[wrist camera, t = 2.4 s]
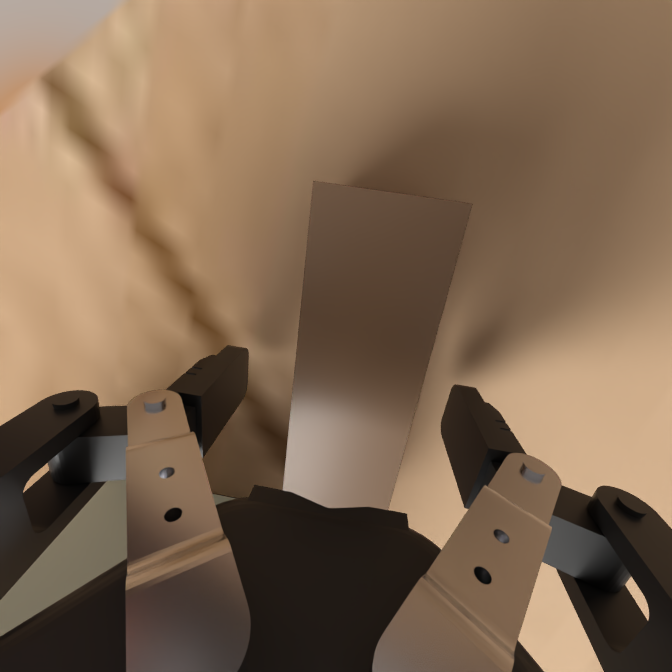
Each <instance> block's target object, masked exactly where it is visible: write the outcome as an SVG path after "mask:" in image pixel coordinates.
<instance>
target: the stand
mask: <svg viewBox="0 0 672 672" xmlns="http://www.w3.org/2000/svg"><path fill="white" fill-rule="evenodd" d="M212 495H213V498H214V502H215V505H217V504H219V503H222V502H225V501H229V500H233V499H236V498H231V497H226V496H221V495H216V494H212ZM126 558H127V512H126V480H115V481H106V483H105V484H104V485H103V486H102V487H101V488H100V489H99V490H98V492H97V493H96V494H95V495H94V496H93V497H92V498H91V499H90V501H89V502H88V503H87V504H86V505H85V506H84V507H83V508H82V509H81V511H80V512H79V513H78V514H77V515H76V516H75V517H74V518H73V520H72V521H71V522H70V523H69V524H68V525H67V526H66V527H65V529H64V530H63V531H62V532H61V533H60V534H59V535H58V536H57V537H56V539H55V540H54V541H53V542H52V543H51V544H50V545H49V546H48V548H47V549H46V550H45V551H44V552H43V553H42V554H41V555H40V557H39V558H38V559H37V560H36V561H35V562H34V563H33V564H32V565H31V567H30V568H29V569H28V570H27V571H26V572H25V573H24V574H23V576H22V577H21V578H20V579H19V580H18V581H17V582H16V583H15V585H14V586H13V587H12V588H11V589H10V590H9V591H8V592H7V593H6V595H5V596H4V597H3V598H2V599H1V600H0V636H2V635H4V634H5V633H7V632H8V631H10V630H12V629H13V628H15V627H16V626H18V625H20V624H21V623H23V622H25V621H26V620H28V619H29V618H31V617H33V616H34V615H36V614H37V613H39V612H41V611H42V610H44V609H46V608H47V607H49V606H50V605H52V604H54V603H55V602H57V601H58V600H60V599H62V598H63V597H65V596H67V595H68V594H70V593H71V592H73V591H75V590H76V589H78V588H79V587H81V586H83V585H84V584H86V583H88V582H89V581H91V580H92V579H94V578H96V577H97V576H99V575H100V574H102V573H104V572H105V571H107V570H109V569H110V568H112V567H113V566H115V565H117V564H118V563H120V562H121V561H123V560H125V559H126Z"/></svg>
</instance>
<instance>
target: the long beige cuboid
mask: <svg viewBox="0 0 672 672" xmlns="http://www.w3.org/2000/svg"><path fill="white" fill-rule="evenodd" d="M471 208H472V204H471V203H464V202H457V201H450V200H443V199H436V198H429V197H422V196H415V195H408V194H401V193H394V192H387V191H380V190H373V189H367V188H360V187H353V186H346V185H339V184H332V183H325V182H318V181H313V190H312V200H311V210H310V220H309V230H308V240H307V250H306V260H305V270H304V281H303V291H302V301H301V311H300V321H299V331H298V341H297V351H296V361H295V372H294V382H293V392H292V402H291V412H290V422H289V432H288V442H287V452H286V463H285V473H284V483H283V490H284V491H289V492H293V493H295V494H297V495H299V496H302V497H304V498H306V499H308V500H311V501H313V502H315V503H318V504H320V505H322V506H324V507H327V508H348V507H374V508H379V509H384V510H388V508H389V505H390V501H391V497H392V494H393V490H394V486H395V483H396V479H397V476H398V472H399V468H400V465H401V461H402V457H403V454H404V450H405V447H406V443H407V439H408V436H409V432H410V428H411V425H412V421H413V418H414V414H415V410H416V407H417V403H418V400H419V396H420V392H421V389H422V385H423V381H424V378H425V374H426V371H427V367H428V363H429V360H430V356H431V352H432V349H433V345H434V342H435V338H436V334H437V331H438V327H439V324H440V320H441V316H442V313H443V309H444V305H445V302H446V298H447V295H448V291H449V287H450V284H451V280H452V276H453V273H454V269H455V266H456V262H457V258H458V255H459V251H460V248H461V244H462V240H463V237H464V233H465V229H466V226H467V222H468V219H469V215H470V211H471Z"/></svg>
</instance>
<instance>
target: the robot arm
mask: <svg viewBox="0 0 672 672" xmlns="http://www.w3.org/2000/svg"><path fill="white" fill-rule="evenodd" d="M248 358H249V353H248V349H247V348H242V347H236V346H230V345H228V346H226V347H225V348H224V349H223V350H222V351H221V352H220V353H219V354H218V355H216V356H215V355H211V356H208V357H206V358H203V359H201V360H199V361H198V362H197V363H196V364H195V365H194V366H192V368H190V369H189V370H188V371H187V372H186V374H183V375H182V376H181V377H180V378H179V379H177V380H176V381H175V382H174V383H173V384H172V385H171V386H169V387H168V388H167V389H166V390H153V391H149V392H145V393H142V394H140V395H138V396H136V397H134V398H133V399H132V400H131V401H130V402H129V403H128V405H127V406H103V407H99V402H98V397H97V395H96V394H94V393H92V392H90V391H83V390H76V391H67V392H62V393H58V394H55V395H52V396H50V397H47V398H45V399H43V400H42V401H40V402H38V403H37V404H35V405H34V406H32V407H30V408H29V409H27V410H26V411H24V412H22V413H21V414H19V415H18V416H16V417H14V418H13V419H11V420H10V421H8V422H6V423H5V424H3V425H1V426H0V600H1V599H2V598H3V597H4V596H5V595H6V593H7V592H8V591H9V590H10V589H11V588H12V587H13V586H14V585H15V583H16V582H17V581H18V580H19V579H20V578H21V577H22V576H23V574H24V573H25V572H26V571H27V570H28V569H29V568H30V567H31V565H32V564H33V563H34V562H35V561H36V560H37V559H38V558H39V557H40V555H41V554H42V553H43V552H44V551H45V550H46V549H47V548H48V546H49V545H50V544H51V543H52V542H53V541H54V540H55V539H56V537H57V536H58V535H59V534H60V533H61V532H62V531H63V530H64V529H65V527H66V526H67V525H68V524H69V523H70V522H71V521H72V520H73V518H74V517H75V516H76V515H77V514H78V513H79V512H80V511H81V509H82V508H83V507H84V506H85V505H86V504H87V503H88V502H89V501H90V499H91V498H92V497H93V496H94V495H95V494H96V493H97V492H98V490H99V489H100V488H101V487H102V486H103V485H104V484H105V483H106V481H115V480H126V512H127V558H126V559H125V560H123V561H121V562H120V563H118V564H117V565H115V566H113V567H112V568H110V569H109V570H107V571H105V572H104V573H102V574H100V575H99V576H97V577H96V578H94V579H92V580H91V581H89V582H88V583H86V584H84V585H83V586H81V587H79V588H78V589H76V590H75V591H73V592H71V593H70V594H68V595H67V596H65V597H63V598H62V599H60V600H58V601H57V602H55V603H54V604H52V605H50V606H49V607H47V608H46V609H44V610H42V611H41V612H39V613H37V614H36V615H34V616H33V617H31V618H29V619H28V620H26V621H25V622H23V623H21V624H20V625H18V626H16V627H15V628H13V629H12V630H10V631H8V632H7V633H5V634H4V635H2V636H0V672H544V671H543V670H542V669H541V668H540V666H539V665H538V664H537V663H536V662H535V660H534V659H533V658H532V657H531V656H530V654H529V653H528V652H527V651H526V649H525V648H524V647H523V646H522V645H521V643H520V642H519V641H518V637H519V634H520V630H521V627H522V624H523V621H524V617H525V614H526V611H527V608H528V605H529V601H530V598H531V595H532V592H533V588H534V585H535V582H536V579H537V576H538V572H539V569H540V566H541V563H542V562H544V563H546V564H548V565H550V566H552V567H554V568H556V569H557V572H558V574H559V576H560V578H561V580H562V582H563V585H564V587H565V589H566V591H567V593H568V595H569V598H570V600H571V602H572V604H573V606H574V608H575V610H576V613H577V615H578V617H579V619H580V621H581V623H582V625H583V628H584V630H585V632H586V634H587V636H588V638H589V640H590V643H591V645H592V647H593V649H594V651H595V653H596V656H597V658H598V660H599V662H600V664H601V666H602V668H603V671H604V672H672V529H671V528H670V527H669V526H668V525H667V523H666V522H665V521H664V520H663V519H662V518H661V517H660V516H659V514H658V513H657V512H656V511H655V510H653V509H652V508H651V507H650V506H649V505H647V504H646V503H645V502H643V501H642V500H640V499H639V498H637V497H635V496H634V495H632V494H630V493H628V492H626V491H623V490H621V489H618V488H615V487H611V486H600V487H598V488H597V490H596V491H595V493H594V495H593V496H592V497H590V496H588V495H585V494H582V493H580V492H577V491H575V490H572V489H570V488H567V487H565V486H562V484H561V480H560V478H559V476H558V475H557V474H556V472H555V471H554V470H553V469H552V468H550V467H549V466H548V465H547V464H545V463H544V462H542V461H540V460H539V459H537V458H535V457H532V456H530V455H527V454H526V453H525V451H524V450H523V448H522V447H521V445H520V443H519V442H518V440H517V439H516V437H515V436H514V434H513V433H512V432H511V431H510V430H511V429H510V428H509V426H508V425H507V424H506V423H505V420H504V419H503V417H502V415H501V414H500V412H499V411H497V410H496V409H495V408H494V407H493V406H491V405H490V404H489V403H485V402H484V401H483V399H482V397H481V396H480V394H479V392H478V390H477V389H476V388H474V387H468V386H462V385H456V384H455V385H454V386H453V387H452V389H451V392H450V395H449V398H448V401H447V404H446V407H445V411H444V414H443V417H442V421H441V435H442V438H443V441H444V444H445V448H446V451H447V454H448V457H449V460H450V463H451V466H452V470H453V473H454V476H455V479H456V482H457V485H458V488H459V492H460V495H461V498H462V501H463V504H464V507H465V508H468V511H467V512H466V514H465V515H464V517H463V518H462V520H461V521H460V523H459V524H458V526H457V527H456V529H455V530H454V532H453V534H452V535H451V537H450V538H449V540H448V541H447V543H446V544H445V546H444V547H443V549H442V550H441V549H440V548H439V547H438V546H436V545H435V544H434V543H433V542H432V541H430V540H429V539H427V538H426V537H424V536H423V535H421V534H420V533H418V532H416V531H414V530H412V529H410V528H409V527H408V519H407V514H405V513H400V512H395V511H389V510H384V509H379V508H374V507H348V508H327V507H324V506H322V505H320V504H318V503H315V502H313V501H311V500H308V499H306V498H304V497H302V496H299V495H297V494H295V493H293V492H289V491H284V490H278V489H273V488H268V487H263V486H257V485H254V487H253V489H252V492H251V494H250V496H249V497H247V498H238V499H233V500H229V501H225V502H222V503H219V504H217V505H215V502H214V498H213V495H212V491H211V488H210V484H209V481H208V477H207V474H206V470H205V467H204V463H203V460H202V458H203V457H204V456H205V454H206V453H207V451H208V450H209V448H210V447H211V445H212V444H213V442H214V441H215V439H216V438H217V437H218V435H219V434H220V432H221V431H222V429H223V428H224V426H225V425H226V423H227V422H228V420H229V419H230V417H231V416H232V415H233V413H234V412H235V410H236V409H237V407H238V406H239V404H240V403H241V401H242V400H243V398H244V396H245V393H246V390H247V383H248ZM46 463H48V466H49V471H48V472H47V473H46V474H45V475H43V476H42V477H41V478H40V479H39V480H38V481H37V482H35V483H34V484H33V485H32V486H31V487H30V488H28V489H27V490H26V491H25V492H24V493H23V490H24V487H25V485H26V483H27V482H28V480H29V479H30V478H31V476H32V475H33V474H35V473H36V472H37V471H38V470H39V469H40V468H42V467H43V466H44V465H45V464H46ZM631 576H632V578H633V579H634V581H635V582H636V584H637V585H638V587H639V588H640V590H641V591H642V593H643V595H644V596H645V598H646V601H647V603H648V607H649V620H648V621H647V619H646V617H645V616H644V614H643V613H642V611H641V609H640V608H639V606H638V605H637V603H636V602H635V600H634V598H633V597H632V595H631V594H630V592H629V590H628V589H627V587H626V586H625V584H626V582H627V581H628V580H629V578H630V577H631Z"/></svg>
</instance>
